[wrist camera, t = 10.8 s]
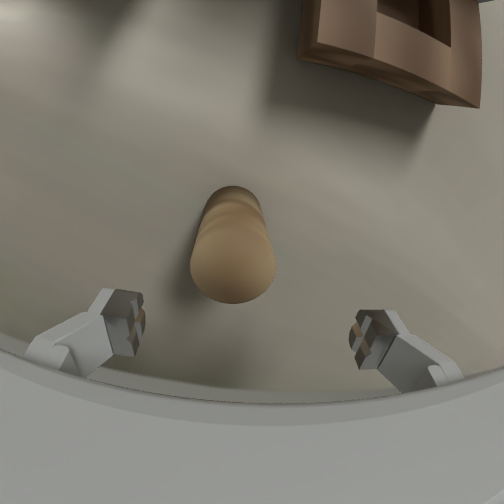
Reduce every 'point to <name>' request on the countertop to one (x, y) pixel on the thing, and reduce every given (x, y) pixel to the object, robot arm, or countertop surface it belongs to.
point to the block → (400, 44)
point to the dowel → (232, 248)
